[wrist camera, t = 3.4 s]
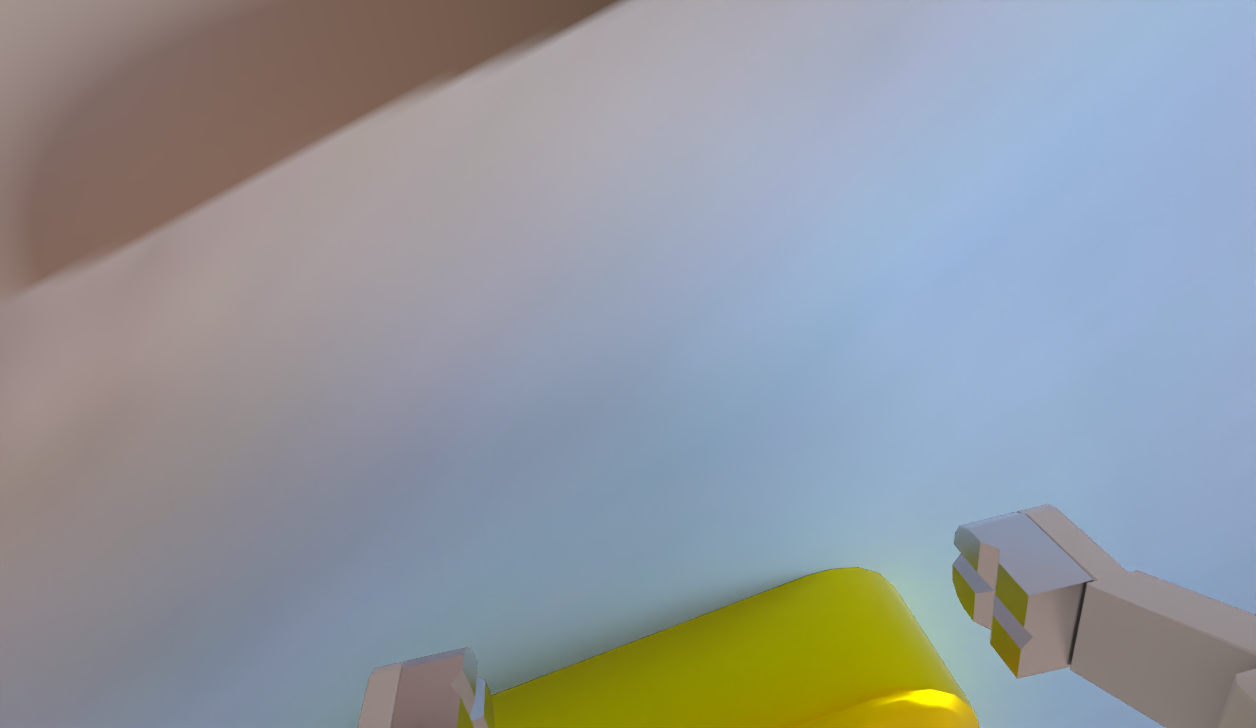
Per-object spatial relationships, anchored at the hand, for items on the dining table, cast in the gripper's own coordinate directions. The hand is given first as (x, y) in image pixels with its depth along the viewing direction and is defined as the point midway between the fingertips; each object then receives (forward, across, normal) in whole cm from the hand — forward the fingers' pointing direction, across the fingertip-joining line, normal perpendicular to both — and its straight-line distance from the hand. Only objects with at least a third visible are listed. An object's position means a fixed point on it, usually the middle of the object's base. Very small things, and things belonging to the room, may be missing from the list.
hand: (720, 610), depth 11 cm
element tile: (+6, +1, +13) cm, 15 cm away
